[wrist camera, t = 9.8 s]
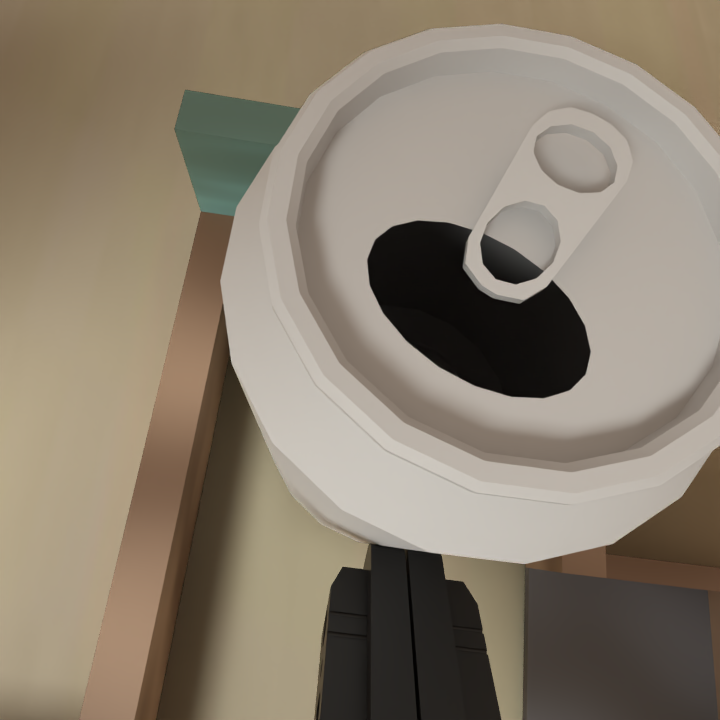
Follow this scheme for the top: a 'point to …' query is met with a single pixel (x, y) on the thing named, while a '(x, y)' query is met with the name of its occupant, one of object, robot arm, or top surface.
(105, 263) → the top surface
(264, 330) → the can
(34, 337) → the top surface
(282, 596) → the top surface
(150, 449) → the trap channel
